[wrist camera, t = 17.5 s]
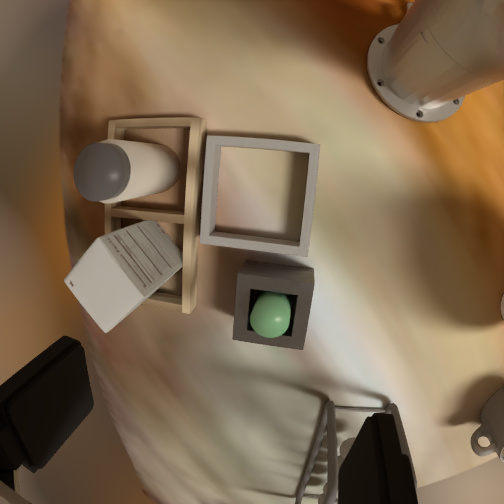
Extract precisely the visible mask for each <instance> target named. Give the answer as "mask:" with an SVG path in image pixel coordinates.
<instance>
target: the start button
mask: <svg viewBox="0 0 504 504" xmlns="http://www.w3.org/2000/svg"><path fill="white" fill-rule="evenodd" d="M291 306H292V294H286V293H278V292H271V291H264V290H261V291H260V293H259V295H258V298H257V300H256V303H255V306H254V308H253V311H252V313H251V317H250V323H251V326H252V328H253V329H254V331H255V332H256V333H258V334H259V335H261V336H263V337H267V338H274V337H278V336H280V335H282V334H283V333H284V332H285V331H286V330H287V328H288V326H289V321H290V313H291Z"/></svg>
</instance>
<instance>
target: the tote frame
mask: <svg viewBox="0 0 504 504" xmlns="http://www.w3.org/2000/svg"><path fill="white" fill-rule="evenodd" d="M221 146H223V147H240V148H254V149H266V150H277V151H287V152H297V153H306V154H309V164H308V174H307V184H306V194H305V203H304V212H303V220H302V229H301V237H300V242H298V241H290V240H282V239H274V238H266V237H258V236H249V235H241V234H233V233H224V232H216V231H215V223H216V208H217V193H218V180H219V167H220V155H221ZM319 153H320V144H312V143H304V142H294V141H284V140H273V139H261V138H247V137H230V136H207V143H206V155H205V168H204V182H203V196H202V213H201V231H200V243H201V244H209V245H217V246H225V247H233V248H241V249H249V250H257V251H264V252H272V253H280V254H288V255H296V256H304V257H308V250H309V242H310V234H311V226H312V218H313V210H314V201H315V192H316V183H317V173H318V163H319Z"/></svg>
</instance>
